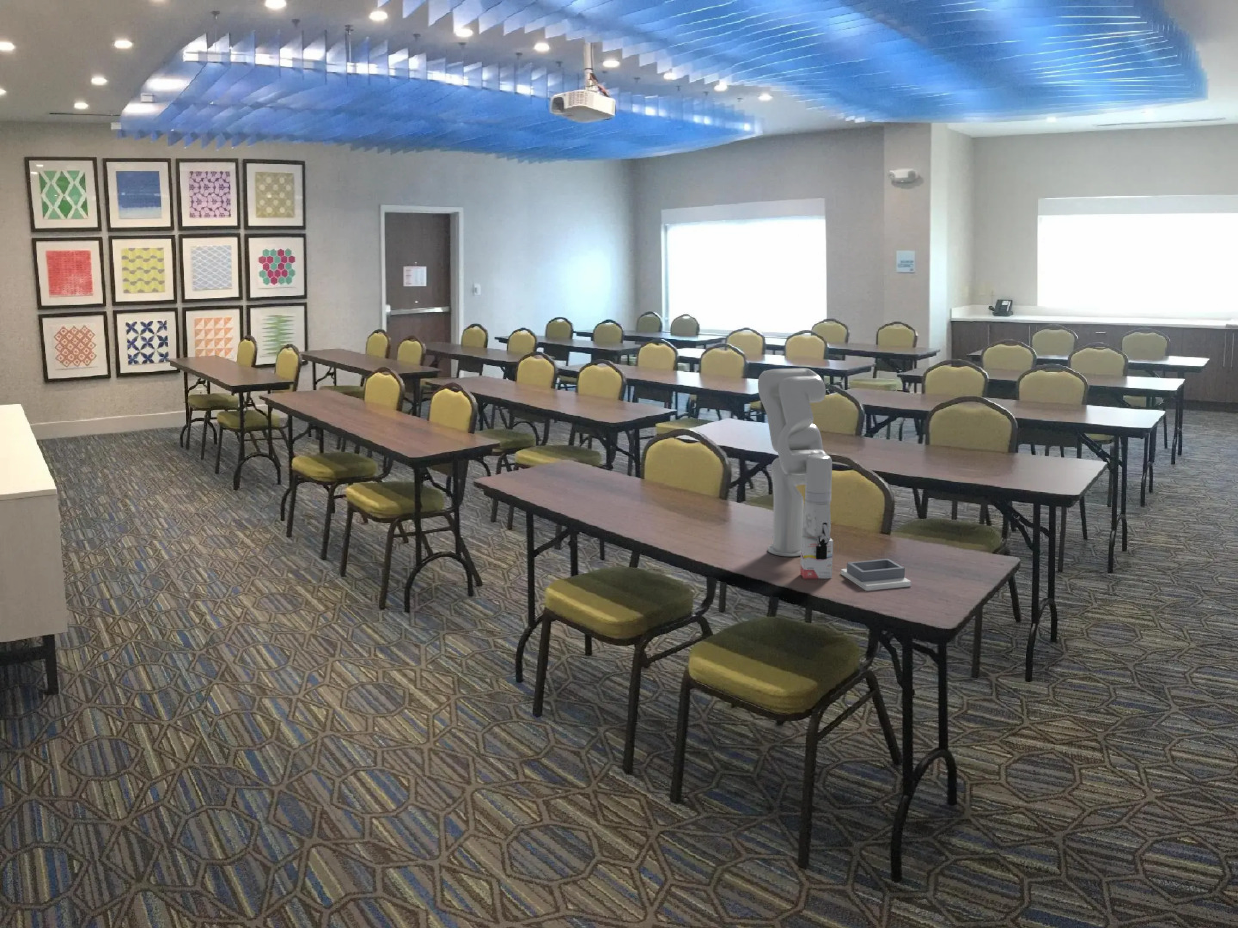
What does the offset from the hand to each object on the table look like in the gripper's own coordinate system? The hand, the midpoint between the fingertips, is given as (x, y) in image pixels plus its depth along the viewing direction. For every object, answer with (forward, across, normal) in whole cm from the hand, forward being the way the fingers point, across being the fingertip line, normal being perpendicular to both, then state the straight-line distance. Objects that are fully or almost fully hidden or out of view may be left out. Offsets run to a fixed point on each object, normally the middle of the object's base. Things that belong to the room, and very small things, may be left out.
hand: (816, 555), depth 284 cm
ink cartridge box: (+7, 0, 0) cm, 7 cm away
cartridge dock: (+7, +8, +15) cm, 18 cm away
